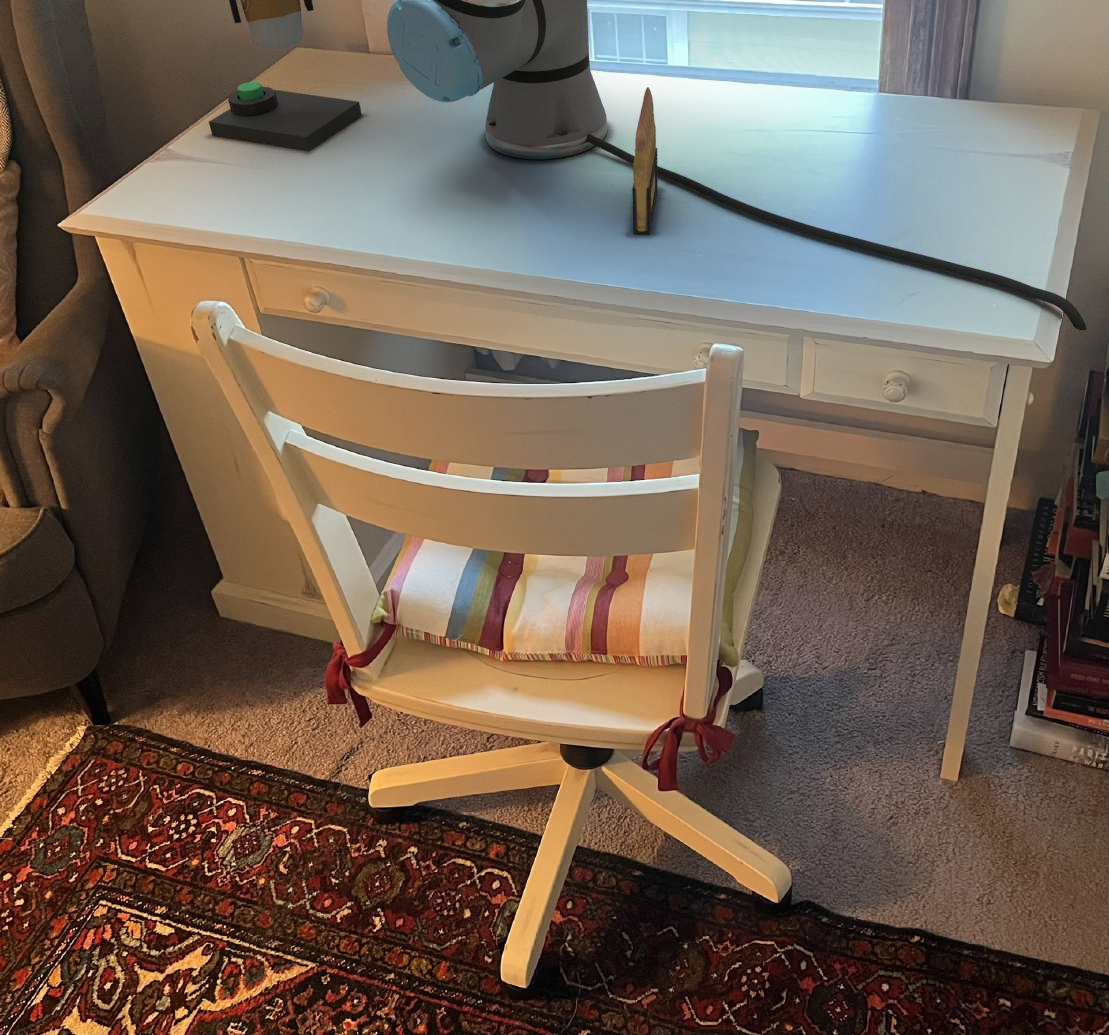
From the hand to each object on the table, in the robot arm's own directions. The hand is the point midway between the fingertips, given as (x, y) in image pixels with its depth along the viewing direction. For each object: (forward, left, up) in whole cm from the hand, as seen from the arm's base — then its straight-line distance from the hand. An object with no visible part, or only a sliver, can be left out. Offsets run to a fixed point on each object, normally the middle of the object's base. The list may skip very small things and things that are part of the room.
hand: (273, 13), depth 135 cm
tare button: (+7, 0, -11) cm, 13 cm away
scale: (+2, 0, -14) cm, 15 cm away
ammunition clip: (-53, +7, -15) cm, 55 cm away
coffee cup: (0, 0, -4) cm, 4 cm away
